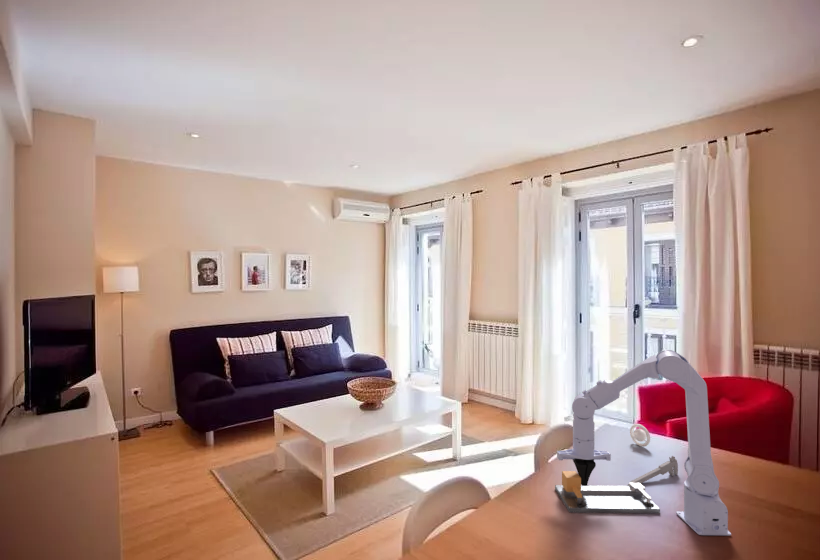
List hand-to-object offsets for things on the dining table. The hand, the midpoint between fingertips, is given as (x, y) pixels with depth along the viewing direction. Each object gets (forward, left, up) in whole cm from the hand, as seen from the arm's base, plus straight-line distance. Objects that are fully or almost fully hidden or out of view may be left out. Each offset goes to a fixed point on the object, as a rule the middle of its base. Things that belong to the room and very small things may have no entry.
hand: (583, 484), depth 120 cm
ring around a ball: (+35, -33, -4) cm, 48 cm away
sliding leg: (-2, +3, -2) cm, 5 cm away
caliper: (+10, -25, -4) cm, 27 cm away
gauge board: (-2, -5, -4) cm, 7 cm away
